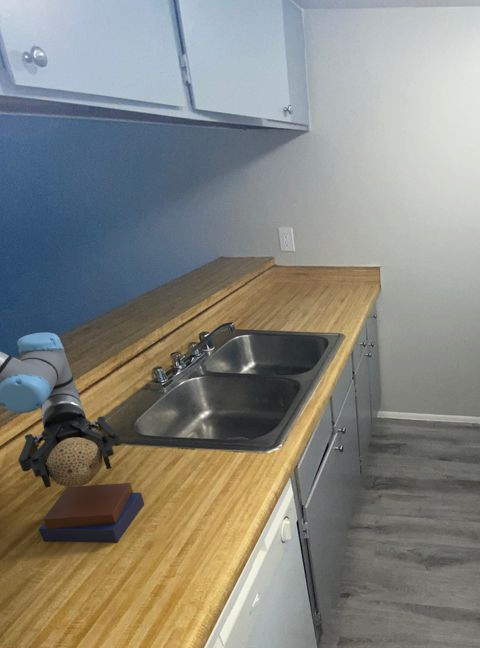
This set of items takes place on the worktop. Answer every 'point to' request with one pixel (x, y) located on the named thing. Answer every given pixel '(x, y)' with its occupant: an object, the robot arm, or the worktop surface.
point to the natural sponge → (74, 462)
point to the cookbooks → (92, 513)
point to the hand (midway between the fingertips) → (77, 471)
